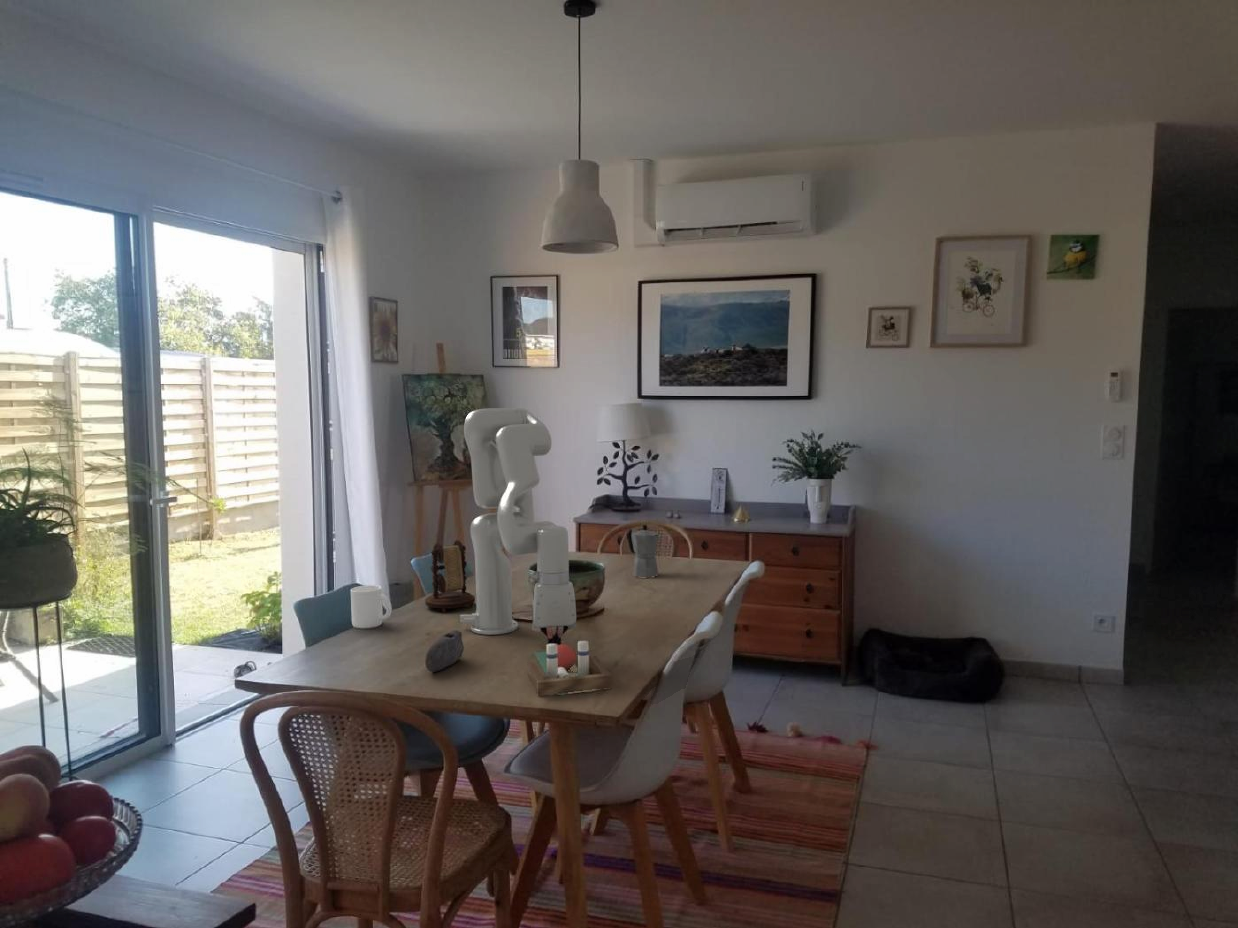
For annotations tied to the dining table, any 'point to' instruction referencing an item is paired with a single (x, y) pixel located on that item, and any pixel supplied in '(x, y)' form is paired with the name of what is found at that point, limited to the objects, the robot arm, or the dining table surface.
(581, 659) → the pin right
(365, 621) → the mug
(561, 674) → the pin front
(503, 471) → the robot arm
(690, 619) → the dining table surface
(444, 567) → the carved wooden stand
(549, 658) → the pin left
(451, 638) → the perforated stone tool
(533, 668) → the backstop
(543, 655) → the strip
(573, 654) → the ball
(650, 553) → the coffeepot
